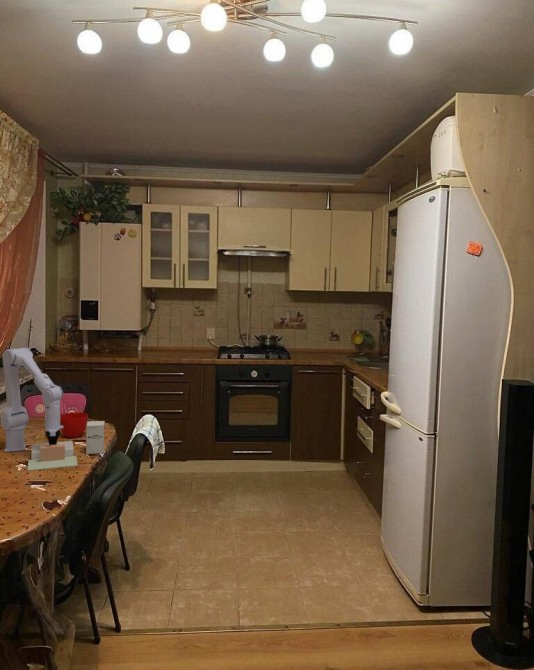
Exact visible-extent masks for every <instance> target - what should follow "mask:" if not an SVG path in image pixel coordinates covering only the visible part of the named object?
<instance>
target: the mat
mask: <svg viewBox="0 0 534 670" xmlns="http://www.w3.org/2000/svg"><path fill="white" fill-rule="evenodd" d="M70 466H71V467H78V459H77V455H74V456H69V457H65V459H63V460H53V461H42V462H41V459H36V460H32V459H28V463H27V471H26V472H29V471H39V470H40V471H41V470H51V469H61V467H62V468H69V467H70Z"/></svg>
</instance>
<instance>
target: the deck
mask: <svg viewBox="0 0 534 670" xmlns="http://www.w3.org/2000/svg"><path fill="white" fill-rule="evenodd" d="M58 444H65V457H69V456H75V455H74V453H75V452H74V443H73V440H67V441H57V445H58ZM46 445H49V442H43V443H42V442H41V443H33V444H32V445H31V454H30V455H31V460H36V459H41V446H46Z"/></svg>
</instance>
